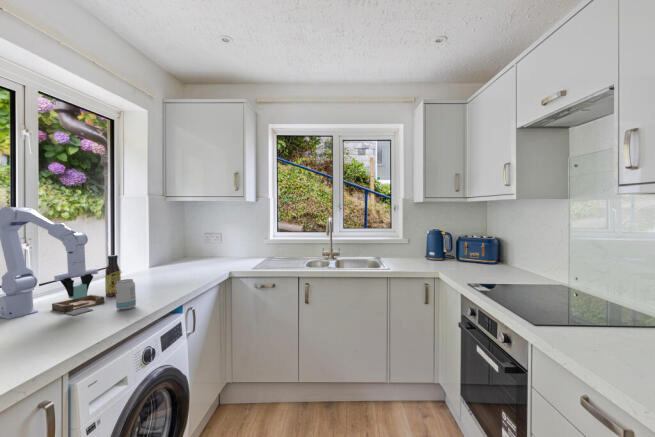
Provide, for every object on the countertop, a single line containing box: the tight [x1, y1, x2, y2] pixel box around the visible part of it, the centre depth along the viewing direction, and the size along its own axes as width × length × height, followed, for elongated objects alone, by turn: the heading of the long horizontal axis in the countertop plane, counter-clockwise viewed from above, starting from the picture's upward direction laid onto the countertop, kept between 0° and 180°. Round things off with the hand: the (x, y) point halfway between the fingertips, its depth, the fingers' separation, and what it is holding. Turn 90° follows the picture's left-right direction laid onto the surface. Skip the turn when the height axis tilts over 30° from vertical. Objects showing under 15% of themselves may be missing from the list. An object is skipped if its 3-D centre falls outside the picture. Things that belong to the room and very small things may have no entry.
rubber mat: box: [63, 307, 94, 317], centre depth 127 cm, size 7×7×1 cm
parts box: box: [51, 294, 105, 314], centre depth 135 cm, size 15×10×3 cm, turn 155°
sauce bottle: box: [104, 254, 122, 297], centre depth 152 cm, size 7×6×20 cm
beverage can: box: [115, 278, 137, 311], centre depth 131 cm, size 7×7×12 cm
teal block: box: [68, 283, 88, 299], centre depth 127 cm, size 4×4×5 cm
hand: (78, 294), depth 127 cm, fingers closed on teal block, 4 cm apart
